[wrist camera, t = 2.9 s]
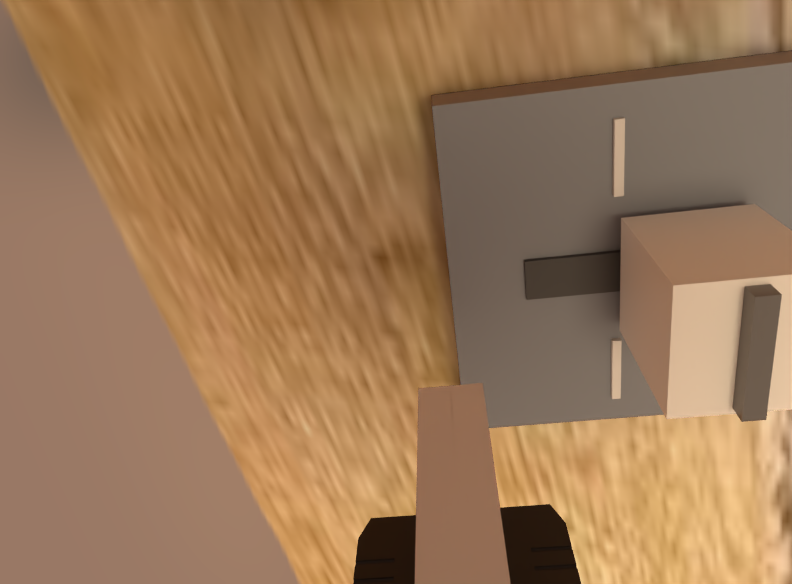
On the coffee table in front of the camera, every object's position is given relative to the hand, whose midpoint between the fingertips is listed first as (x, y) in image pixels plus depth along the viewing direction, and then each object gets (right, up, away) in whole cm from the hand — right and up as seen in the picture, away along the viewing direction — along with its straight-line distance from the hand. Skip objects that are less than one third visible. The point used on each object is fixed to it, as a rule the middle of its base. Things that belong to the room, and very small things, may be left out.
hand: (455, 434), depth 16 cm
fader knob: (+8, +4, +6) cm, 10 cm away
